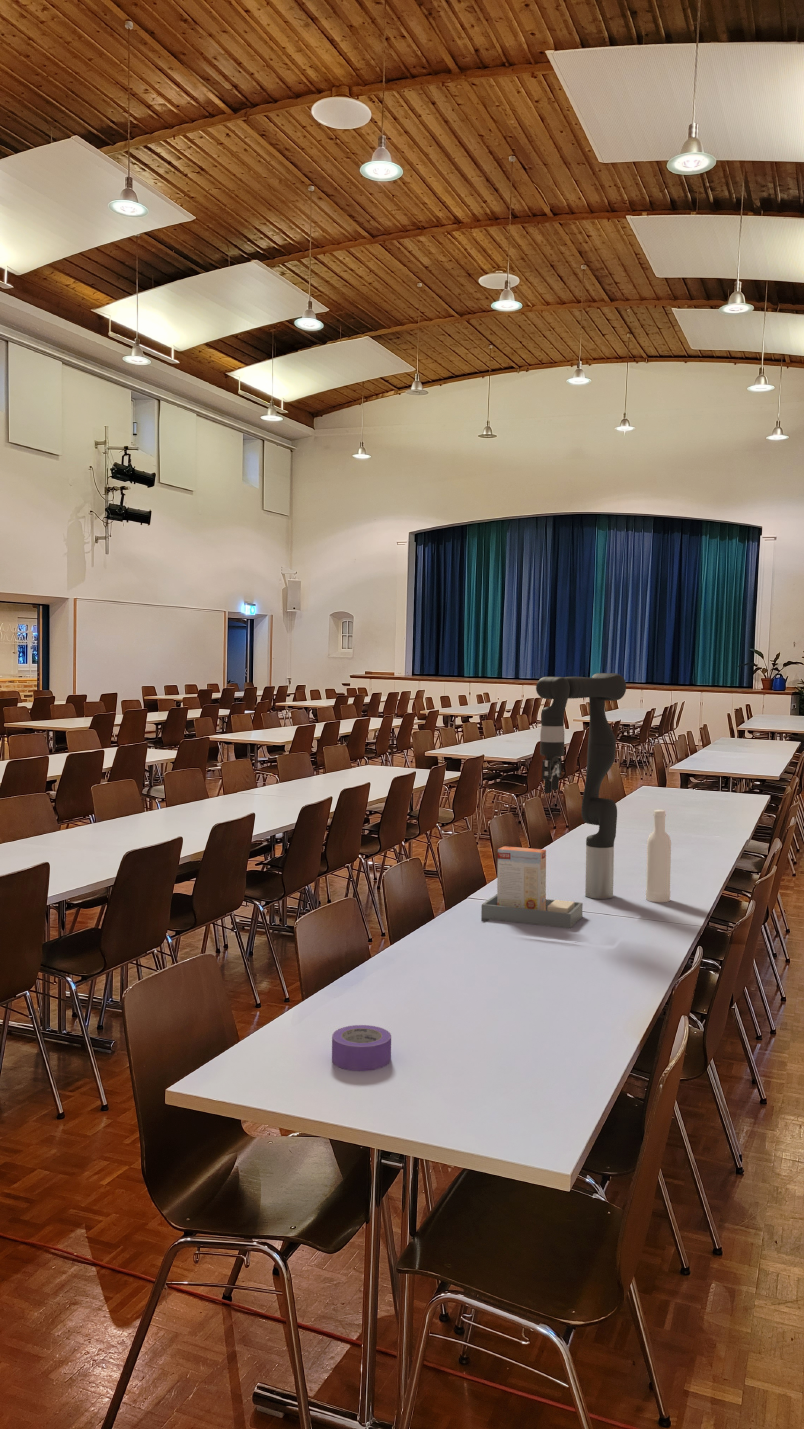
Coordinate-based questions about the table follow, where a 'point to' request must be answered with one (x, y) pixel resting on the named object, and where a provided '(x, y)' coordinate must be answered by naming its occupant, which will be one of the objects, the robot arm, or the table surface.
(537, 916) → the tote
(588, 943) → the table surface
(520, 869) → the cracker box
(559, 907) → the beige block
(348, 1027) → the tape roll
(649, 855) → the bottle
